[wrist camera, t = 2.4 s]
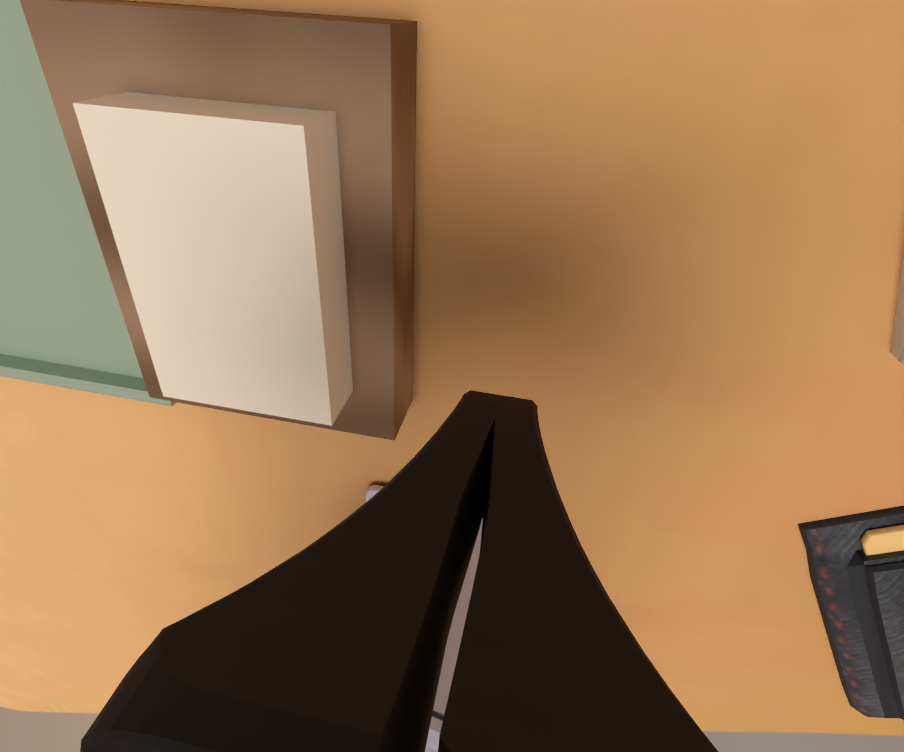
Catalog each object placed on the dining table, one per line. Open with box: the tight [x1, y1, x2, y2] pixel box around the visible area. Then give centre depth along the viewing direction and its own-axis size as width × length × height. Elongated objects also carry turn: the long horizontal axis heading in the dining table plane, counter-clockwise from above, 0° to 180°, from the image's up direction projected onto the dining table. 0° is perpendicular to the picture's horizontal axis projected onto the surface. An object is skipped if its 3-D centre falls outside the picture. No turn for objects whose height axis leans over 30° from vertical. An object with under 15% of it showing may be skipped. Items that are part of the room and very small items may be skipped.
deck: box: [20, 0, 417, 440], centre depth 18 cm, size 13×10×2 cm
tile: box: [73, 92, 353, 426], centre depth 16 cm, size 9×6×2 cm, turn 177°
